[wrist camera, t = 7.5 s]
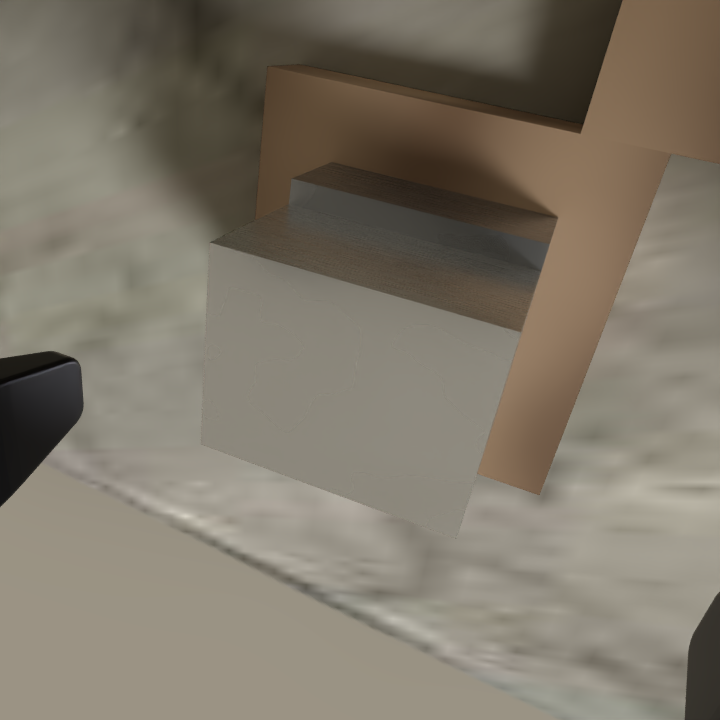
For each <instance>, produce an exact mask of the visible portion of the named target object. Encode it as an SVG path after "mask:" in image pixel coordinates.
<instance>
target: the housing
mask: <svg viewBox="0 0 720 720" xmlns="http://www.w3.org/2000/svg"><path fill="white" fill-rule="evenodd" d="M557 220H558V217H555V216H551V215H547V214H543V213H539V212H535V211H531V210H527V209H522V208H518V207H514V206H510V205H506V204H502V203H498V202H494V201H490V200H486V199H482V198H477V197H473V196H469V195H465V194H461V193H457V192H453V191H449V190H445V189H441V188H437V187H432V186H428V185H424V184H420V183H416V182H412V181H408V180H404V179H400V178H396V177H392V176H387V175H383V174H379V173H375V172H371V171H367V170H363V169H359V168H355V167H351V166H347V165H342V164H338V163H334V162H330V163H328V164H326V165H323V166H321V167H318V168H316V169H313V170H311V171H309V172H306V173H304V174H301V175H299V176H296V177H294V178H292V179H291V188H290V198H289V204H288V205H286V206H284V207H282V208H279V209H277V210H275V211H273V212H271V213H269V214H267V215H265V216H263V217H261V218H259V219H257V220H255V221H253V222H251V223H249V224H247V225H245V226H242V227H240V228H238V229H236V230H234V231H232V232H230V233H228V234H226V235H224V236H222V237H220V238H218V239H216V240H214V241H212V242H210V243H209V266H208V289H207V312H206V335H205V357H204V380H203V403H202V426H201V444H202V445H204V446H207V447H210V448H212V449H215V450H218V451H220V452H223V453H226V454H229V455H231V456H234V457H237V458H239V459H242V460H245V461H247V462H250V463H253V464H255V465H258V466H261V467H264V468H266V469H269V470H272V471H274V472H277V473H280V474H282V475H285V476H288V477H291V478H293V479H296V480H299V481H301V482H304V483H307V484H309V485H312V486H315V487H317V488H320V489H323V490H326V491H328V492H331V493H334V494H336V495H339V496H342V497H344V498H347V499H350V500H353V501H355V502H358V503H361V504H363V505H366V506H369V507H371V508H374V509H377V510H380V511H382V512H385V513H388V514H390V515H393V516H396V517H398V518H401V519H404V520H406V521H409V522H412V523H415V524H417V525H420V526H423V527H425V528H428V529H431V530H433V531H436V532H439V533H442V534H444V535H447V536H450V537H452V538H455V539H456V538H457V535H458V532H459V529H460V526H461V523H462V519H463V516H464V513H465V510H466V507H467V504H468V501H469V498H470V495H471V491H472V488H473V485H474V482H475V479H476V476H477V473H478V470H479V467H480V464H481V461H482V458H483V455H484V452H485V448H486V445H487V442H488V439H489V436H490V433H491V430H492V427H493V424H494V420H495V417H496V414H497V411H498V408H499V405H500V401H501V398H502V395H503V392H504V389H505V386H506V382H507V379H508V376H509V373H510V370H511V367H512V363H513V360H514V357H515V354H516V351H517V347H518V344H519V341H520V338H521V335H522V332H523V328H524V325H525V322H526V319H527V316H528V313H529V309H530V306H531V303H532V300H533V297H534V293H535V290H536V287H537V284H538V281H539V278H540V274H541V271H542V268H543V265H544V262H545V259H546V255H547V252H548V249H549V246H550V243H551V240H552V236H553V233H554V230H555V227H556V224H557Z"/></svg>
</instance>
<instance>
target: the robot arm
mask: <svg viewBox="0 0 720 720" xmlns="http://www.w3.org/2000/svg"><path fill="white" fill-rule="evenodd" d="M83 404H84V403H83V389H82V376H81V367H80V364H79V363H78V361H77V360H76V359H74V358H72V357H70V356H67V355H64V354H61V353H58V352H54V351H47V352H40V353H33V354H27V355H20V356H14V357H7V358H0V507H1V506H2V505H3V504H4V503H5V502H6V501H7V500H8V499H9V498H10V497H11V496H12V495H13V494H14V493H15V491H17V489H18V488H19V487H20V486H21V485H22V484H23V483H24V482H25V481H26V479H27V478H28V477H29V476H30V475H31V474H32V473H33V471H34V470H35V469H36V468H37V467H38V466H39V465H40V464H41V462H42V461H43V460H44V459H45V458H46V457H47V456H48V454H49V453H50V452H51V451H52V450H53V449H54V448H55V446H56V445H57V444H58V443H59V442H60V441H61V440H62V439H63V437H64V436H65V435H66V434H67V433H68V432H69V431H70V429H71V428H72V427H73V426H74V425H75V424H76V423H77V421H78V420H79V418H80V416H81V414H82V411H83ZM685 720H720V592H719V593H718V594H717V595H716V597H715V598H714V600H713V602H712V603H711V605H710V607H709V608H708V610H707V612H706V613H705V615H704V617H703V618H702V620H701V622H700V623H699V625H698V627H697V628H696V630H695V632H694V634H693V636H692V638H691V642H690V645H689V651H688V667H687V686H686V705H685Z"/></svg>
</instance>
